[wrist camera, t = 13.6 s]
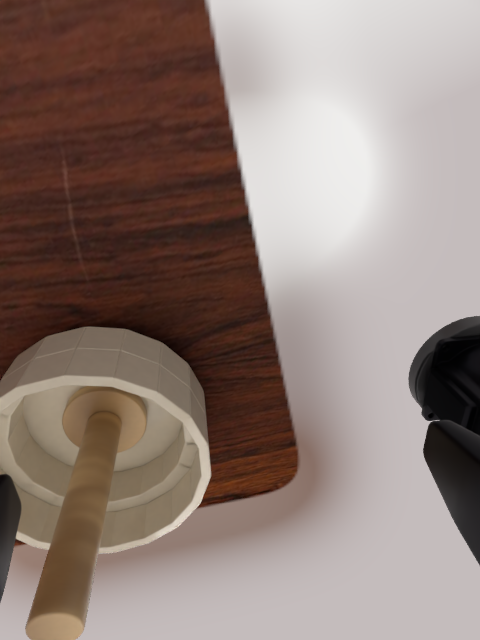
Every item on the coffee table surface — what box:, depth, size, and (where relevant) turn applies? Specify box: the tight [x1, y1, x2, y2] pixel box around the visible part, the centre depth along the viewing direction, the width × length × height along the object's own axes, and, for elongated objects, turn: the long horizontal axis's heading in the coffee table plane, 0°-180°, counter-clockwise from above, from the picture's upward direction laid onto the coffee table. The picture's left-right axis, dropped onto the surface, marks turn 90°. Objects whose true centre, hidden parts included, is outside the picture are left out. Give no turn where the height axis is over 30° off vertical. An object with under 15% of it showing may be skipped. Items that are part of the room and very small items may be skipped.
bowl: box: [0, 326, 211, 554], centre depth 21 cm, size 11×11×5 cm
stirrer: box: [25, 386, 147, 640], centre depth 18 cm, size 4×4×11 cm
